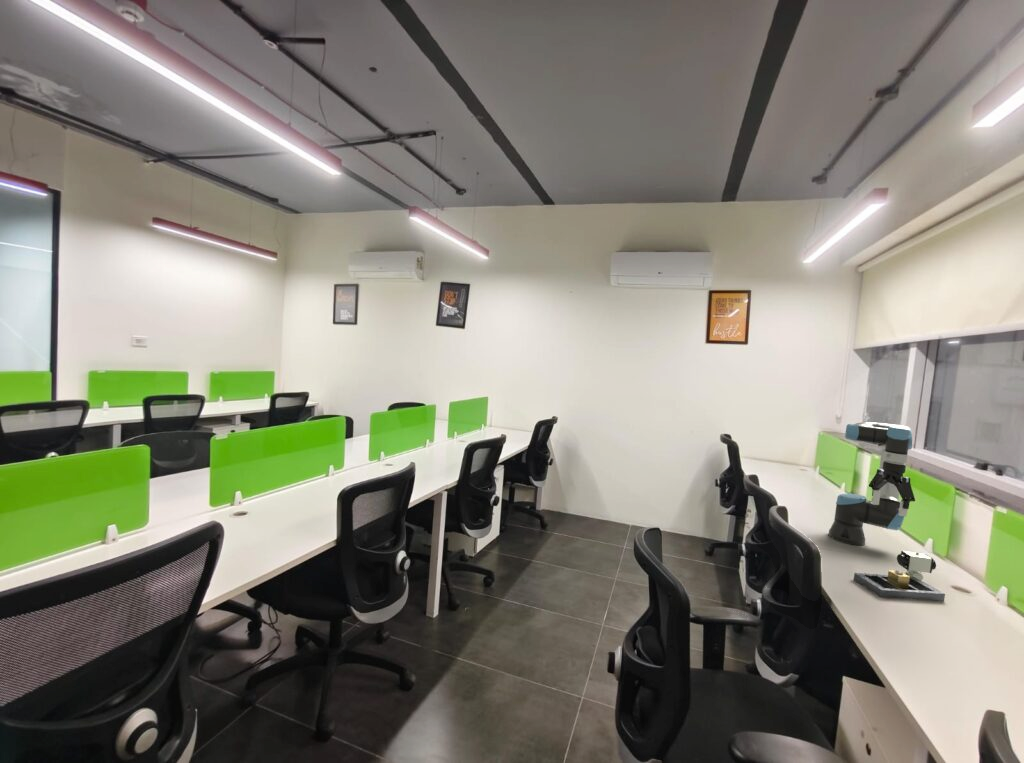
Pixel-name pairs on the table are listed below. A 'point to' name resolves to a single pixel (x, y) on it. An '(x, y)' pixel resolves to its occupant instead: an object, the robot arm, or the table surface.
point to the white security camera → (916, 563)
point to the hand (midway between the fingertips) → (888, 509)
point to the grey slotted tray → (915, 589)
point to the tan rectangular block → (898, 579)
